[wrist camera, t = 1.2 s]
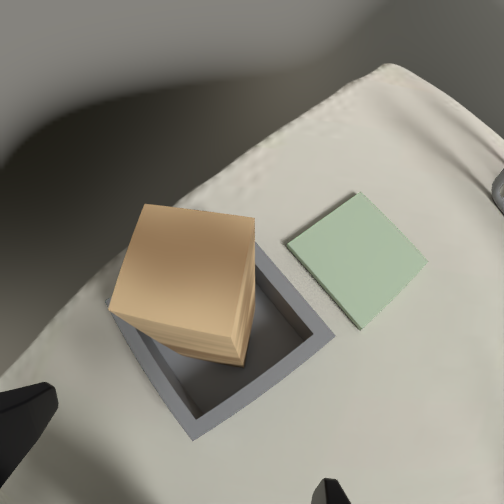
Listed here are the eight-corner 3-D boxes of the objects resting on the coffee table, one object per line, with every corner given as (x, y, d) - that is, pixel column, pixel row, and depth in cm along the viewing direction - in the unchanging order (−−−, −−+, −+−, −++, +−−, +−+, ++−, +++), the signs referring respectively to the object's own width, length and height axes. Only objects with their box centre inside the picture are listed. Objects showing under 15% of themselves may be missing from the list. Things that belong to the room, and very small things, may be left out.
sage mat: (359, 330, 23) (362, 328, 22) (286, 246, 26) (287, 243, 25) (425, 264, 25) (428, 261, 24) (358, 195, 28) (360, 191, 28)
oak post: (244, 368, 21) (230, 337, 10) (182, 355, 22) (108, 309, 10) (255, 307, 23) (254, 218, 12) (195, 297, 24) (144, 203, 12)
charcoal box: (202, 433, 20) (192, 441, 16) (125, 315, 23) (104, 301, 20) (323, 345, 22) (335, 335, 19) (235, 240, 26) (232, 215, 23)
